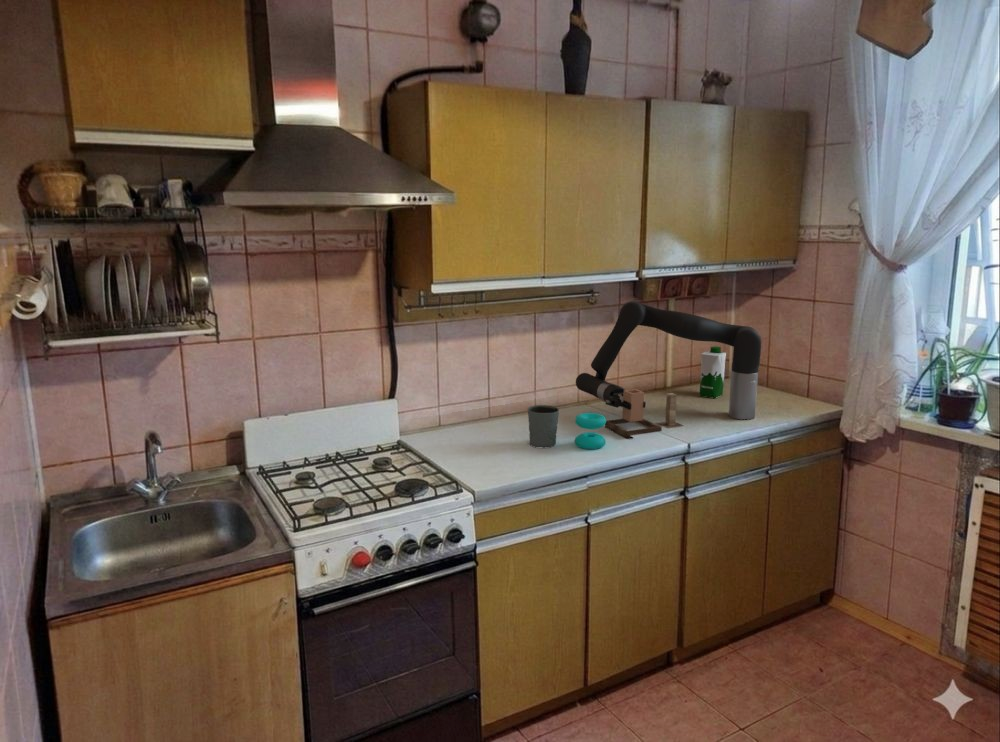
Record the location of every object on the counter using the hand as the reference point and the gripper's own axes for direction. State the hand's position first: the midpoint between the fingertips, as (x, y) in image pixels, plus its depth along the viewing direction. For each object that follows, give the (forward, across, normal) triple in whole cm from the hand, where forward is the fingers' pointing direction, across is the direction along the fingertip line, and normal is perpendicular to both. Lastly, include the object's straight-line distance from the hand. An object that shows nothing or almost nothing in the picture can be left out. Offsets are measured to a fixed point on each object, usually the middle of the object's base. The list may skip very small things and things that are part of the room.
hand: (637, 405), depth 238 cm
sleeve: (-3, 0, +6) cm, 6 cm away
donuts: (+5, -21, +10) cm, 24 cm away
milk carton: (-30, +56, +10) cm, 64 cm away
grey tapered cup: (-2, -35, +10) cm, 36 cm away
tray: (-2, 0, +10) cm, 10 cm away
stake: (-1, +14, +10) cm, 17 cm away
